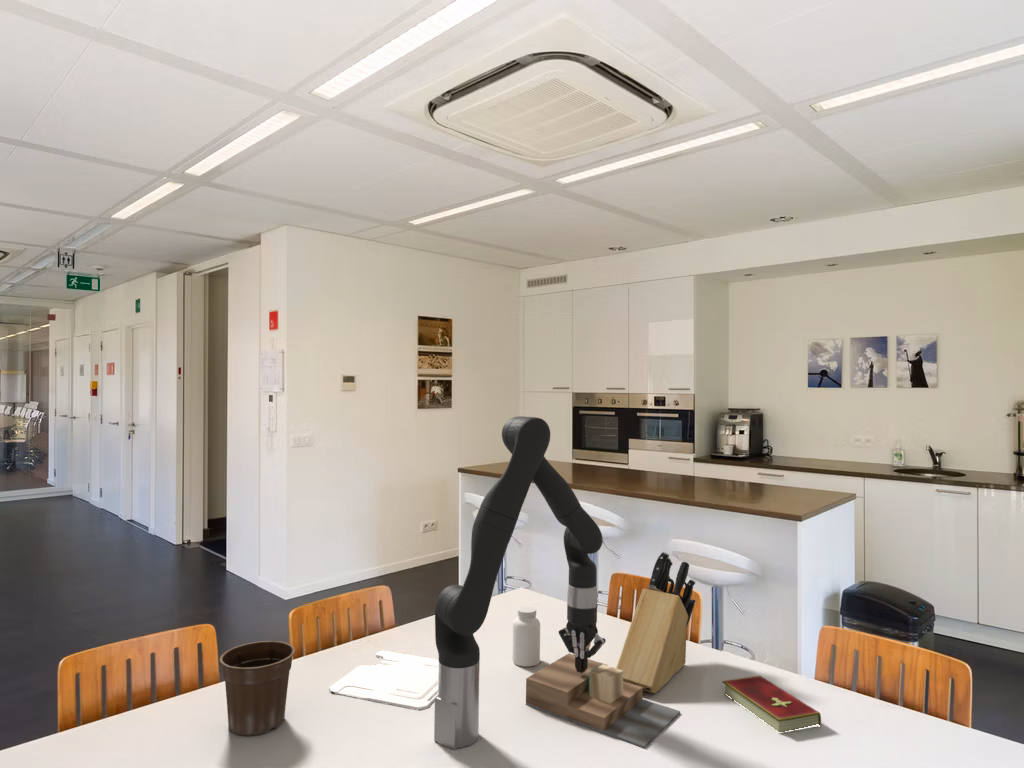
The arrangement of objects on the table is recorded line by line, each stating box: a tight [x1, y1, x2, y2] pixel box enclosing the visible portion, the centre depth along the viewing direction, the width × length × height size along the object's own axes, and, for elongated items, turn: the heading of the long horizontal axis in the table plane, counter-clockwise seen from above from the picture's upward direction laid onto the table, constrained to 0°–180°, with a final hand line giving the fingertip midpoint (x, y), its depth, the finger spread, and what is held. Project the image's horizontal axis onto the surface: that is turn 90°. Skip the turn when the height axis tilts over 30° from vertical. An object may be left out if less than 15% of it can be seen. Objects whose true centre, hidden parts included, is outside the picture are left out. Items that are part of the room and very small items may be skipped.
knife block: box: [615, 551, 696, 694], centre depth 183 cm, size 11×35×31 cm, turn 146°
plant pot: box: [219, 640, 296, 737], centre depth 151 cm, size 16×16×16 cm
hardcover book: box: [722, 675, 822, 732], centre depth 161 cm, size 12×21×4 cm, turn 18°
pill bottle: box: [511, 606, 541, 668], centre depth 188 cm, size 8×8×15 cm
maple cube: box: [589, 663, 623, 704], centre depth 160 cm, size 6×6×6 cm
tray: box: [328, 650, 439, 711], centre depth 176 cm, size 28×28×2 cm
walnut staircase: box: [525, 653, 681, 749], centre depth 160 cm, size 20×32×6 cm, turn 53°
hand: (581, 671), depth 164 cm, fingers closed
